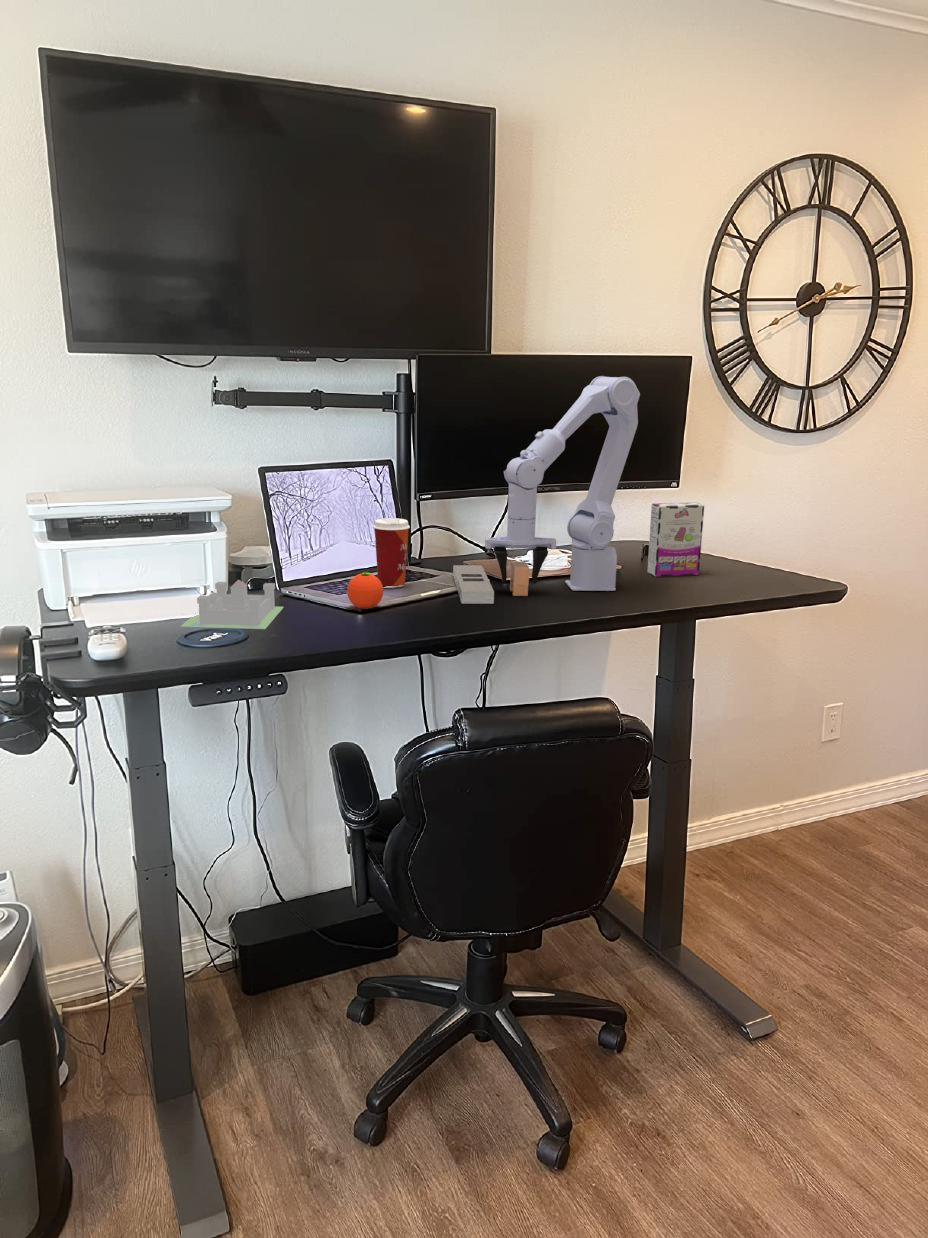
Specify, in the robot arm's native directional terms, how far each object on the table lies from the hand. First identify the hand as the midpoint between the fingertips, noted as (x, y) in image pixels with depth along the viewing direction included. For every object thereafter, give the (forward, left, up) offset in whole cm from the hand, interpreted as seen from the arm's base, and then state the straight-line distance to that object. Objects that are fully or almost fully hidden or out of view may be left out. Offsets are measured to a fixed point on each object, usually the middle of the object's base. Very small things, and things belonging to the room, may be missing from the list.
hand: (519, 582), depth 186 cm
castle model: (+56, +18, -3) cm, 58 cm away
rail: (+10, -3, -2) cm, 10 cm away
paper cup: (+26, -6, -2) cm, 27 cm away
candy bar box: (-38, -18, -2) cm, 43 cm away
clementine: (+32, +12, -2) cm, 34 cm away
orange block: (0, 0, -2) cm, 2 cm away
